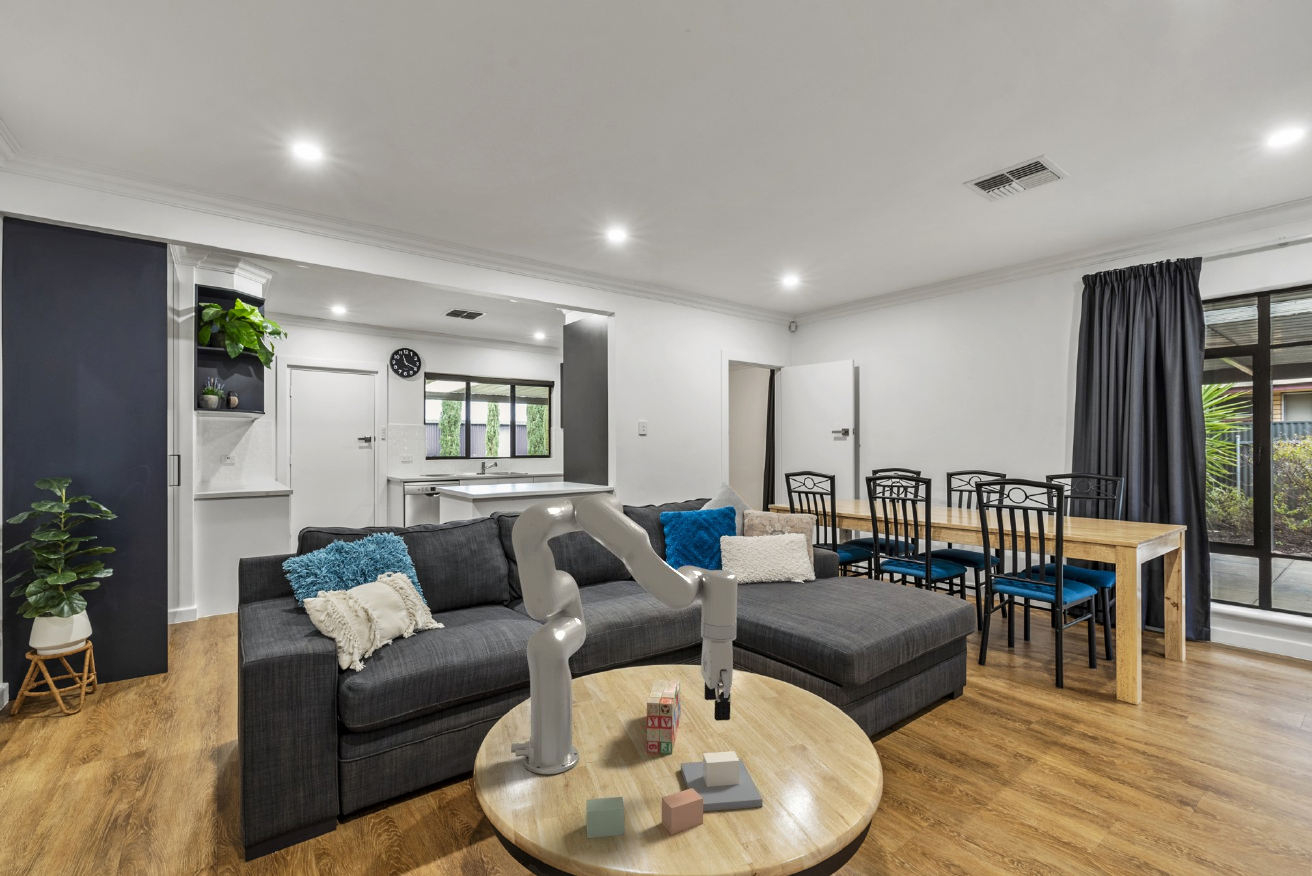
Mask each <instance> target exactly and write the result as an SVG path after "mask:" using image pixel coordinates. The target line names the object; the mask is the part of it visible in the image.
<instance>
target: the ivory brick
mask: <svg viewBox="0 0 1312 876" xmlns="http://www.w3.org/2000/svg"><path fill="white" fill-rule="evenodd" d="M739 759H740V758H738V755H737V754H736V751H735V750H733V751H721V752H720V751H718V752H704V753H703V752H702V762H703V778H704V780H705V783H706V785H707V787H710V786H723V785H736V784H739Z"/></svg>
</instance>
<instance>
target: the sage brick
mask: <svg viewBox="0 0 1312 876" xmlns="http://www.w3.org/2000/svg"><path fill="white" fill-rule="evenodd" d="M585 804H586V805H585V806H586V808H585V809H586V810H585V811H586V812H585V813H586V816H585V817H586V824H585V825H586V838H587V839H592V838H593V839H594V838H605V837H613V836H624V835H625V805H624V798H623V796H614V797H613V796H612V797H602V798H601V797H599V798H590V799H589V798H588V799H586V803H585Z"/></svg>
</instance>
